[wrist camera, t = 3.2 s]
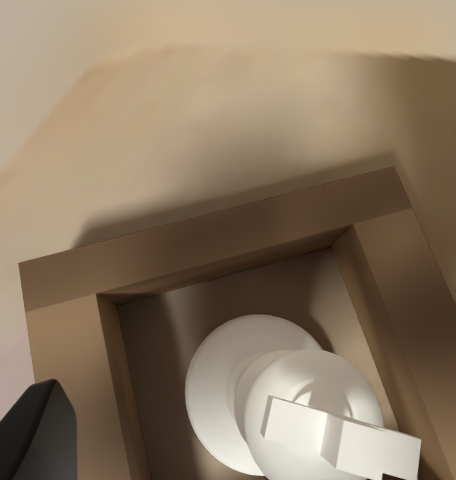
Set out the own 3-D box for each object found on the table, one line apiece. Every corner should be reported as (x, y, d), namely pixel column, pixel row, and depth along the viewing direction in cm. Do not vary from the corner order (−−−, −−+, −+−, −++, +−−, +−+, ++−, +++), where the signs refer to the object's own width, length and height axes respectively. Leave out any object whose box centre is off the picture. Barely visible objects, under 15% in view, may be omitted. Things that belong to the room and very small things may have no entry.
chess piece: (208, 298, 14) (188, 163, 5) (345, 335, 14) (620, 272, 4) (166, 448, 13) (14, 692, 3) (318, 493, 13) (635, 900, 3)
